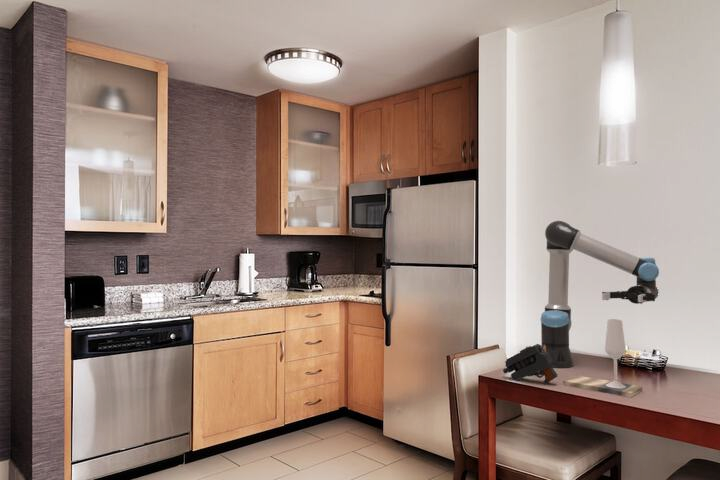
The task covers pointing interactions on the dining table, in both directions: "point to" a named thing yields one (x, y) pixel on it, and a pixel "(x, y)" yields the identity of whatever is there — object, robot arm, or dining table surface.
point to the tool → (531, 364)
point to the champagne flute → (615, 347)
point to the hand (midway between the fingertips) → (620, 297)
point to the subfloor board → (601, 386)
